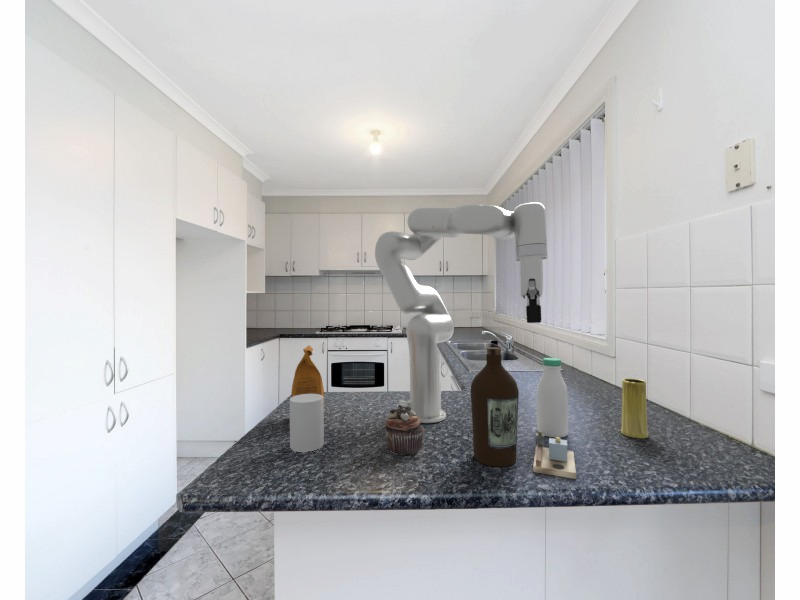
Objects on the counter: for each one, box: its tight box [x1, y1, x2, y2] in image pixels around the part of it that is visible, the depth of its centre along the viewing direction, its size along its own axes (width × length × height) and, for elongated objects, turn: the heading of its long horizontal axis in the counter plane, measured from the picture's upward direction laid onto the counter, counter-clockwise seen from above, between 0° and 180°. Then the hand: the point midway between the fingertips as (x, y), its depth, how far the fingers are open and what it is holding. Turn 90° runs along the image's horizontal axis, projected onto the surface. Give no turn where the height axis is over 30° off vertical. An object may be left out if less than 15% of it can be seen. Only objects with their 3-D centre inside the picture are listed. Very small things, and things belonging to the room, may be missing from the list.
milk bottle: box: [536, 357, 569, 439], centre depth 97 cm, size 8×8×20 cm
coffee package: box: [290, 345, 325, 409], centre depth 109 cm, size 10×12×22 cm
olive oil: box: [470, 346, 520, 468], centre depth 82 cm, size 11×11×25 cm
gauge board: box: [532, 431, 577, 480], centre depth 79 cm, size 8×11×5 cm
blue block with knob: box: [548, 437, 568, 462], centre depth 79 cm, size 4×3×4 cm
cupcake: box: [384, 404, 425, 455], centre depth 88 cm, size 10×10×10 cm
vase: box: [620, 378, 649, 439], centre depth 96 cm, size 6×6×14 cm
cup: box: [289, 394, 325, 452], centre depth 90 cm, size 8×8×12 cm
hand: (534, 321), depth 90 cm, fingers open, 9 cm apart
